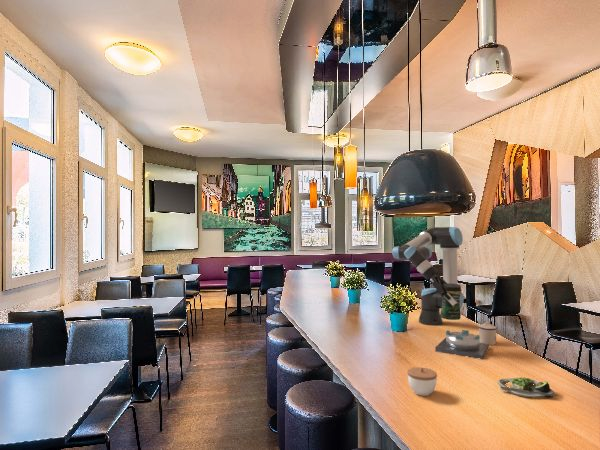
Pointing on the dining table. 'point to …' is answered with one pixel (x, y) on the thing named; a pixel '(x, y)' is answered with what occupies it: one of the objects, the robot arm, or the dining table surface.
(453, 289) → the coffee jar
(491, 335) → the teacup with lid
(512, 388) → the salad plate
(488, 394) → the dining table surface
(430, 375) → the lidded jar
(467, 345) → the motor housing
